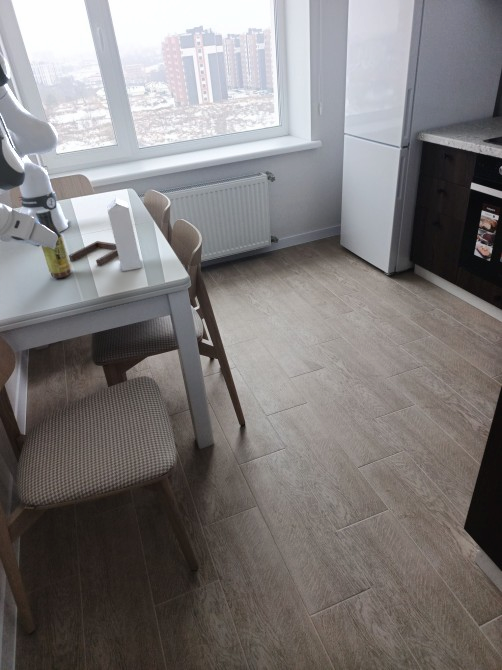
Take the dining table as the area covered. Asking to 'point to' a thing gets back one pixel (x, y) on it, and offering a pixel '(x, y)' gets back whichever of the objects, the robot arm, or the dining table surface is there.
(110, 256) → the bottle bay
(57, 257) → the sauce bottle
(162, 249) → the dining table surface
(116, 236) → the milk
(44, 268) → the dining table surface
